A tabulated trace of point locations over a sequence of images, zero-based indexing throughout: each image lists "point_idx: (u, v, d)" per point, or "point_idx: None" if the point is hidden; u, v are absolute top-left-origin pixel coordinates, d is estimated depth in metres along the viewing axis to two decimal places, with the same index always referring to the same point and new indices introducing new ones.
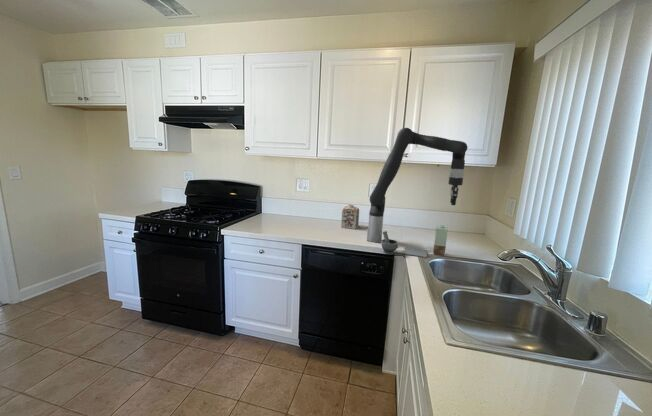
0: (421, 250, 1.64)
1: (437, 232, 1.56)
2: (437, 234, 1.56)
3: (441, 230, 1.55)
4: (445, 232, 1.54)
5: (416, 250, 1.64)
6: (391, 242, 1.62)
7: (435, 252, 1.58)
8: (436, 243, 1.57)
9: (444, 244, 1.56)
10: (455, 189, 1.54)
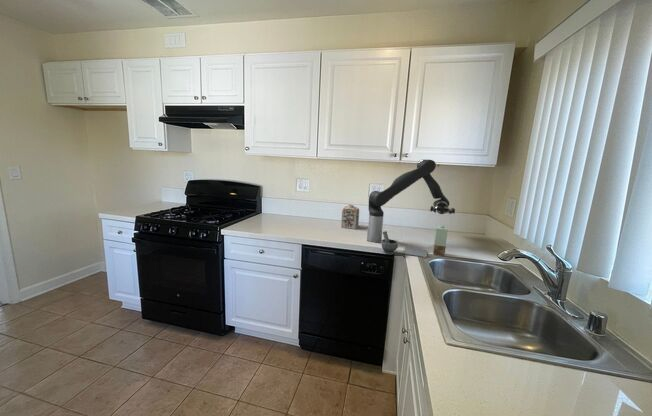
0: (421, 250, 1.64)
1: (437, 232, 1.56)
2: (437, 234, 1.56)
3: (441, 230, 1.55)
4: (445, 232, 1.54)
5: (416, 250, 1.64)
6: (391, 242, 1.62)
7: (435, 252, 1.58)
8: (436, 243, 1.57)
9: (444, 244, 1.56)
10: None
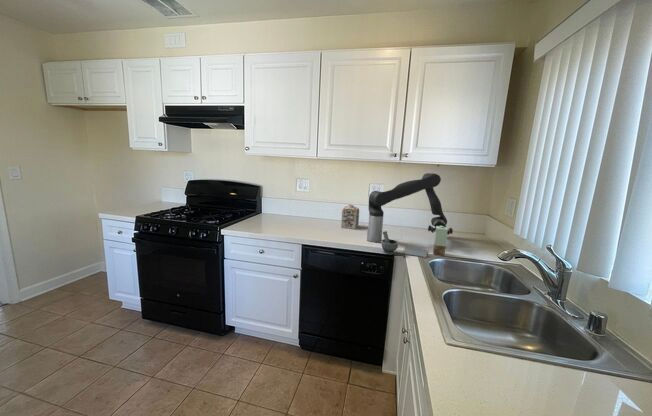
0: (421, 250, 1.64)
1: (437, 232, 1.56)
2: (437, 234, 1.56)
3: (441, 230, 1.55)
4: (445, 232, 1.54)
5: (416, 250, 1.64)
6: (391, 242, 1.62)
7: (435, 252, 1.58)
8: (436, 243, 1.57)
9: (444, 244, 1.56)
10: None
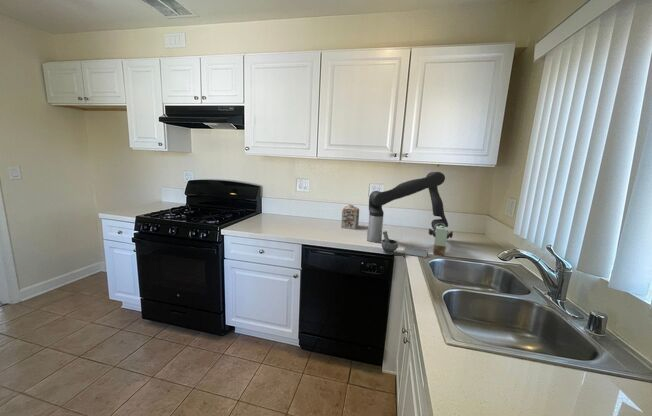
0: (421, 250, 1.64)
1: (437, 232, 1.56)
2: (437, 234, 1.56)
3: (441, 230, 1.55)
4: (445, 232, 1.54)
5: (416, 250, 1.64)
6: (391, 242, 1.62)
7: (435, 252, 1.58)
8: (436, 243, 1.57)
9: (444, 244, 1.56)
10: (452, 233, 1.62)
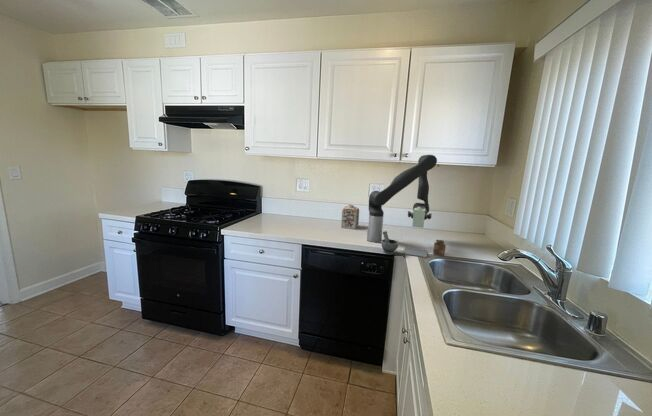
0: (421, 250, 1.64)
1: (415, 213, 1.55)
2: (415, 215, 1.55)
3: (419, 211, 1.54)
4: (422, 213, 1.53)
5: (416, 250, 1.64)
6: (391, 242, 1.62)
7: (435, 252, 1.58)
8: (414, 225, 1.56)
9: (422, 225, 1.55)
10: (431, 215, 1.61)
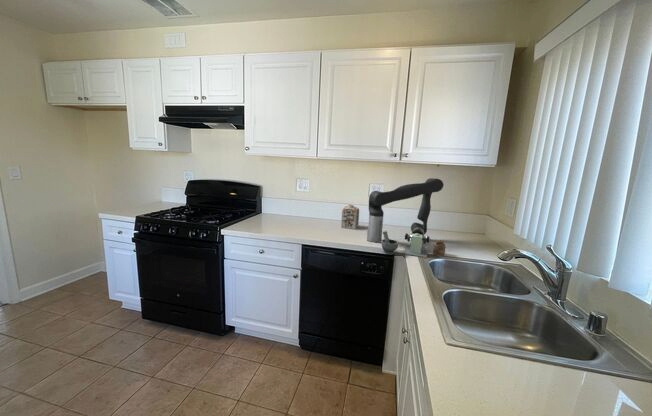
0: (421, 250, 1.64)
1: (412, 240, 1.58)
2: (412, 242, 1.58)
3: (416, 238, 1.57)
4: (420, 240, 1.56)
5: None
6: (391, 242, 1.62)
7: (435, 252, 1.58)
8: (411, 250, 1.59)
9: (419, 252, 1.58)
10: (429, 238, 1.64)
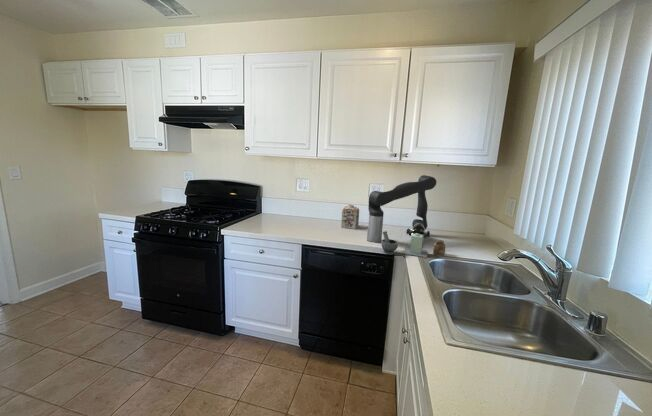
0: (421, 250, 1.64)
1: (412, 240, 1.58)
2: (412, 242, 1.58)
3: (416, 238, 1.57)
4: (420, 240, 1.56)
5: None
6: (391, 242, 1.62)
7: (435, 252, 1.58)
8: (411, 250, 1.59)
9: (419, 252, 1.58)
10: None
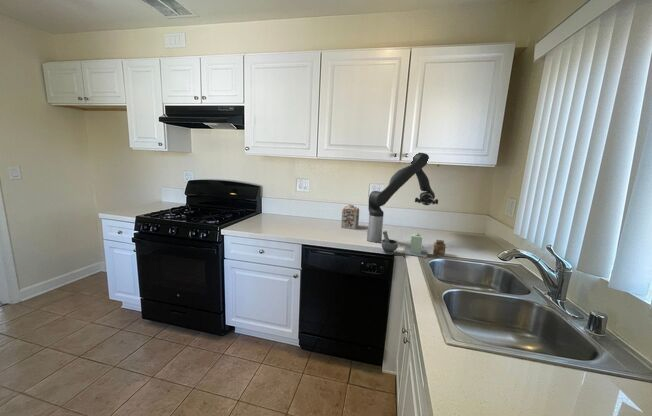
0: (421, 250, 1.64)
1: (412, 240, 1.58)
2: (412, 242, 1.58)
3: (416, 238, 1.57)
4: (420, 240, 1.56)
5: None
6: (391, 242, 1.62)
7: (435, 252, 1.58)
8: (411, 250, 1.59)
9: (419, 252, 1.58)
10: None
